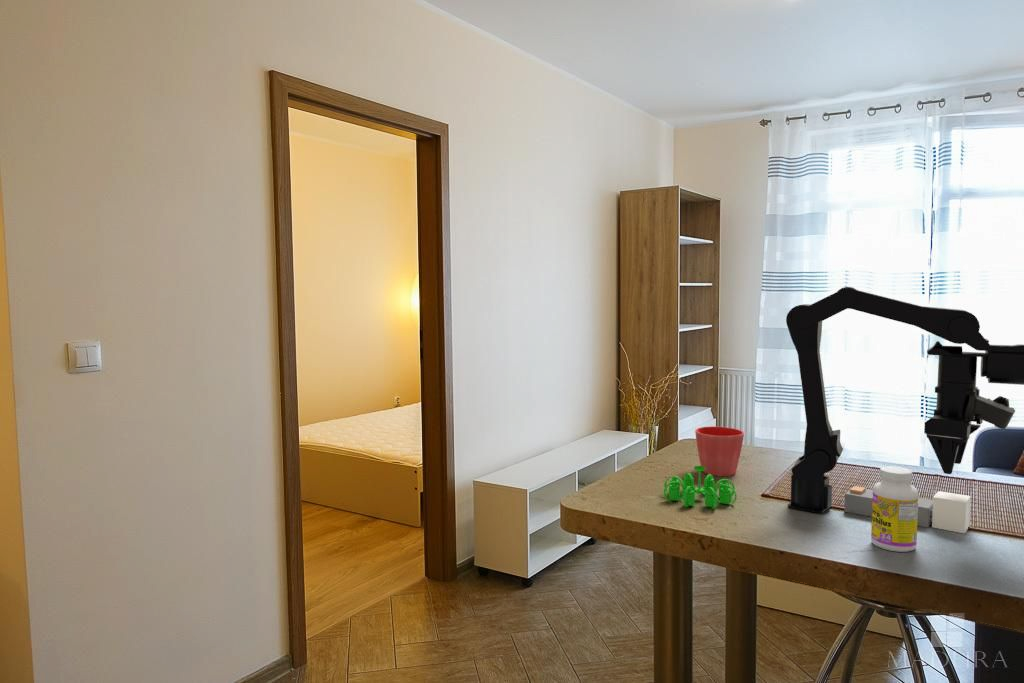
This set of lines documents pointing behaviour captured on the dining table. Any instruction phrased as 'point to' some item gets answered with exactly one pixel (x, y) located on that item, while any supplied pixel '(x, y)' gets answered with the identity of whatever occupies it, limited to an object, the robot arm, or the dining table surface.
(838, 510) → the dining table surface
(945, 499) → the charger
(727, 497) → the chandelier
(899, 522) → the supplement bottle
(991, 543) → the dining table surface
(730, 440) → the flower pot
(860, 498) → the power strip
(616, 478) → the dining table surface
